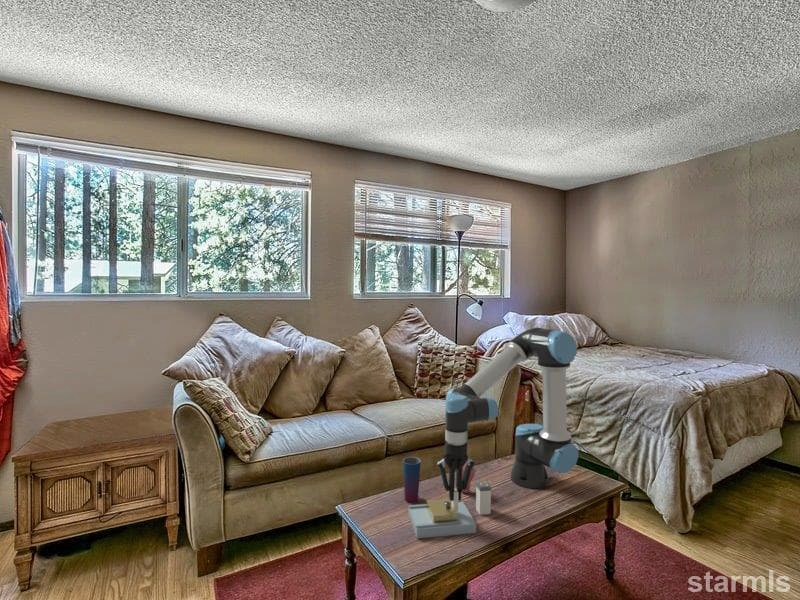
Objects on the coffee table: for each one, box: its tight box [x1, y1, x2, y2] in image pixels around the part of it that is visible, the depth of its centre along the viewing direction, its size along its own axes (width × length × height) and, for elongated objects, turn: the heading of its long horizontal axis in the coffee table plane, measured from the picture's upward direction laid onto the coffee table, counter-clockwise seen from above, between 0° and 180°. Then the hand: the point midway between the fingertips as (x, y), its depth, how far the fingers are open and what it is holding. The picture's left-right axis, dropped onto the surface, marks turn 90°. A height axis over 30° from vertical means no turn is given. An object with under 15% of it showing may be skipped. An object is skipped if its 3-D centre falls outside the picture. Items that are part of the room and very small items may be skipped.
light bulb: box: [462, 463, 476, 494], centre depth 163 cm, size 7×7×12 cm
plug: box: [475, 480, 492, 516], centre depth 149 cm, size 4×4×10 cm
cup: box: [402, 456, 422, 504], centre depth 157 cm, size 7×7×15 cm
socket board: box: [408, 501, 477, 539], centre depth 141 cm, size 20×14×4 cm
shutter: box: [426, 498, 457, 523], centre depth 141 cm, size 8×10×4 cm
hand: (454, 509), depth 142 cm, fingers closed
